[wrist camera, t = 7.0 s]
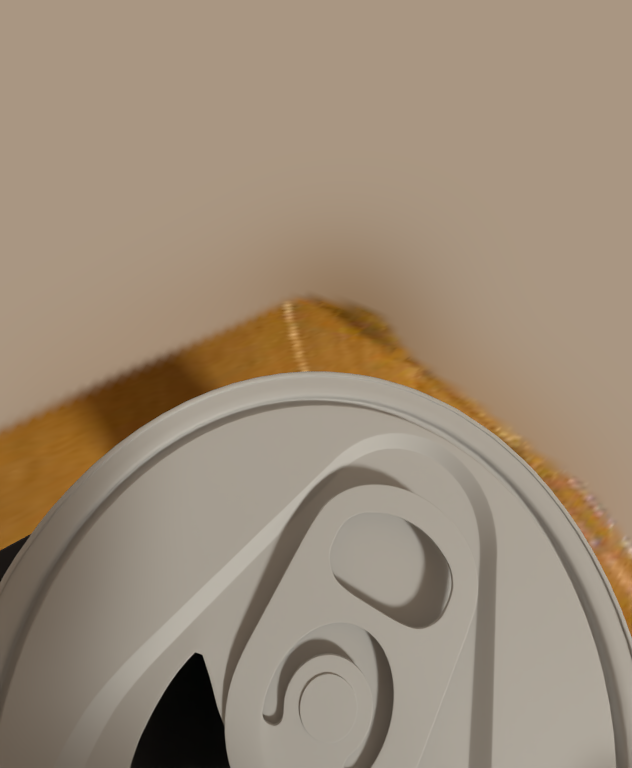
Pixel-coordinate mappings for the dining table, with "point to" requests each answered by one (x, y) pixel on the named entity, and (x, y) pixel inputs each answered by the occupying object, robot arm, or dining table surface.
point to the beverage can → (312, 597)
